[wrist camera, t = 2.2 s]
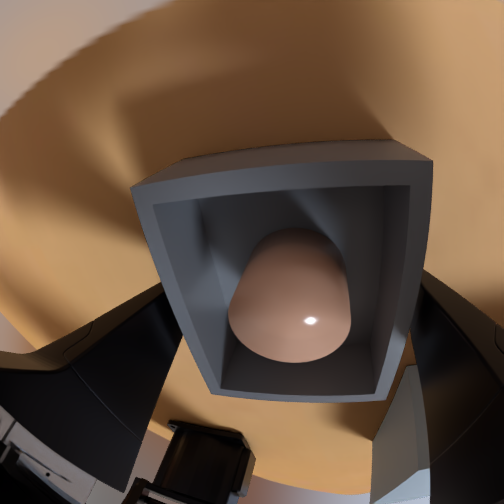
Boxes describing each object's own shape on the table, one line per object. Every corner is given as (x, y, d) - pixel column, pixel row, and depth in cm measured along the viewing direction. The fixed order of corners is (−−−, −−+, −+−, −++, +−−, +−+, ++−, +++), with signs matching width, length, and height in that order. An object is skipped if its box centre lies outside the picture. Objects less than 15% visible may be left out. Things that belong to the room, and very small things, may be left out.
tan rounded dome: (256, 309, 10) (240, 359, 8) (240, 230, 9) (215, 274, 7) (344, 309, 9) (346, 362, 7) (345, 225, 8) (354, 271, 6)
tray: (231, 340, 12) (211, 393, 10) (183, 159, 9) (129, 187, 6) (378, 340, 11) (385, 400, 8) (393, 139, 7) (432, 160, 4)
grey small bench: (372, 441, 16) (369, 505, 11) (406, 366, 11) (418, 470, 6) (513, 410, 12) (524, 460, 7) (572, 327, 7) (600, 387, 3)
